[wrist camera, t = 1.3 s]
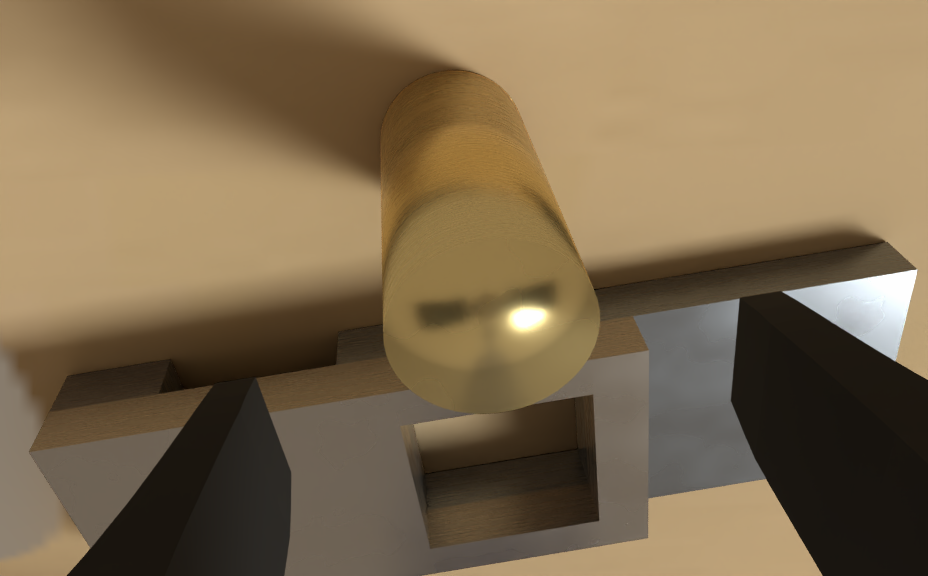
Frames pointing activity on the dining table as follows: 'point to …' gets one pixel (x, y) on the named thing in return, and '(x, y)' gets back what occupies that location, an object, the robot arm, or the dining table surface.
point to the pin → (476, 253)
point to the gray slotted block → (397, 408)
